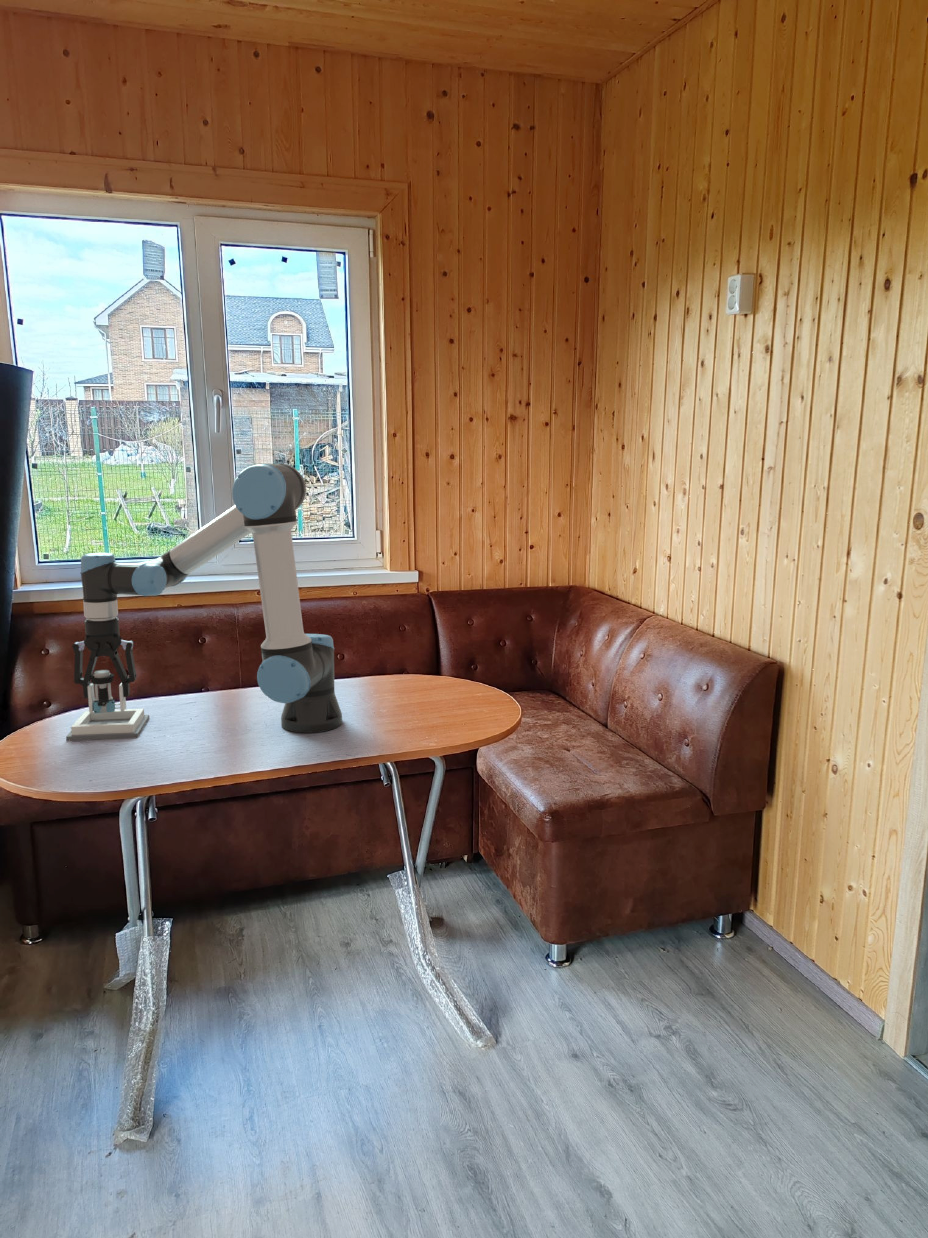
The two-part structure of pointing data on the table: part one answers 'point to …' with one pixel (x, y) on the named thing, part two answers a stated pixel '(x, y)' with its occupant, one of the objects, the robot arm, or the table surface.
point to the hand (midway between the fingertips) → (107, 710)
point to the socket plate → (108, 725)
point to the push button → (103, 692)
